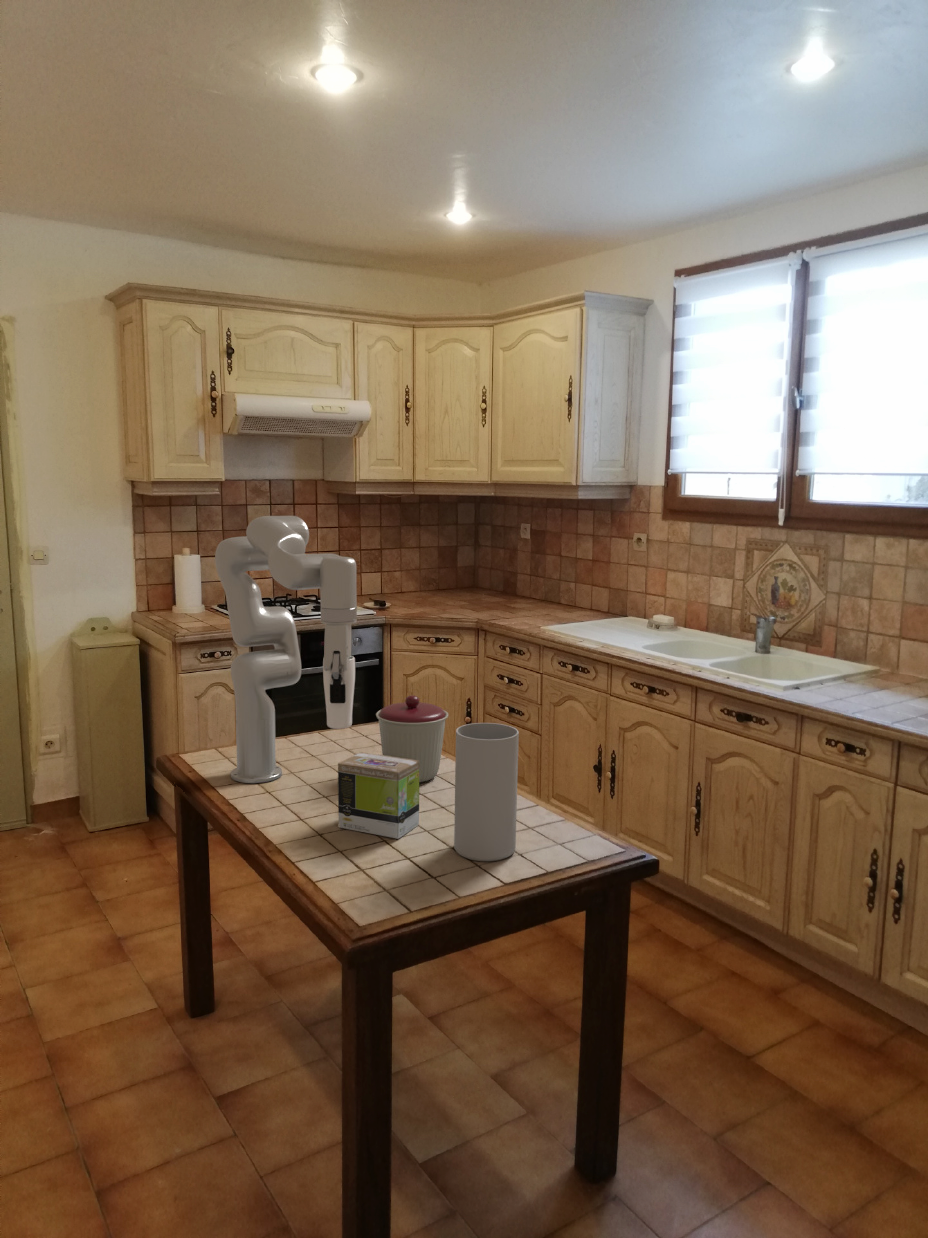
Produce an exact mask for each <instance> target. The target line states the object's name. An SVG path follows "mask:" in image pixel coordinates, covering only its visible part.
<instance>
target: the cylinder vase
mask: <svg viewBox="0 0 928 1238" xmlns="http://www.w3.org/2000/svg"><path fill="white" fill-rule="evenodd" d="M519 734H520V731H519V730H518V729H517V728H516V727H513V726H512V725H511V726H510V725H507V724H502V723H496V722H495V723H494V722H476V723H475V722H474V723H468V724H464V725H461V726H459V727H457V728H456V729H455V768H454V769H455V770H454V771H455V774H454V779H455V780H454V830H453V831H454V832H453V833H454V834H453V835H454V837H453V847H454V851H455V852H456V853H457V854H458V855H459V856H462V857H463V858H465V859H468V860H472V861H478V862H496V861H501V860H504V859H507V858H508V857H511V856H512V855H513V854H514V853H515V851H516V844H517V843H516V842H517V809H518V807H517V805H518V803H517V802H518V775H519V774H518V769H519V768H518V767H519V737H520V736H519Z"/></svg>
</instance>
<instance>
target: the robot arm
mask: <svg viewBox="0 0 928 1238" xmlns="http://www.w3.org/2000/svg"><path fill="white" fill-rule="evenodd" d="M245 534H246V535H245V536H235V537H230V538H229V537H228V538H226V539H223V540H222V541H220V542H219V543H218V545H217V547H216V549H215V556H214V562H215V569H216V572H217V575H218V578H219V581H220V583H221V585H222V588H223V590H224V593H225V597H226V605H227V613H228V619H229V626H230V633H231V636H232V639H233V642H234V644H236V645H237V646H239V647H244V648H247V647H249V648H250V647H260V646H271V645H272V646H274V649H268V650H258V651H257V650H256V651H249V652H244V653H242V654H239V655H237V656H236V657H235V658H234V659H233V660H232V662H231V665H230V677H231V681H232V686H233V692H234V700H235V701H234V702H235V703H234V704H235V732H236V733H235V734H236V735H235V736H236V737H235V739H236V767H235V768H233V769H232V770H231V771H230V778H231V779H232V780H233V781H235V782H239V783H243V784H244V783H245V784H261V783H268V782H272V781H276V780H277V779H279V778H280V777H281V776H282V775H283V769H282V767H280V766H279V765H277V763H276V762H277V761H276V760H277V759H276V756H277V755H276V752H277V751H276V709H275V704H274V702H273V700H272V699H271V698H270V697H269V695H268V694H267V692H266V690H271V689H274V688H283V687H288V686H294V685H295V684H296V683H298V682H299V681H300V679H301V676H302V659H301V654H300V647H299V639H298V634H297V627H296V622H295V619H294V617H293V614H292V613H291V611H289V610H288V608H286V607H283V606H264V604H263V600H262V599H263V597H262V592H261V587H260V586H259V585H258V583H257V582H256V581H255V579H253V578H252V576H251V575H249V573H247V572H248V571H249V572H252V571H253V572H254V571H255V572H256V571H259V572H260V571H269V573H270V575H271V578H273V580H274V581H276V582H277V583H278V584H280V585H281V586H282V587H284V588H286V589H288V590H292V591H302V590H315V589H316V590H317V589H319V590H320V623H321V624H323V625H325V626H324V641H323V642H324V643H323V644H324V645H323V646H324V648H323V649H324V650H323V651H324V652H323V653H324V655H323V658H324V670H325V671H328V670H327V669H330V666H331V679H330V703H345V701H346V692H345V684H344V672H345V671H346V670H347V669H348V663H349V659H351V656H352V625H353V624H356V623H357V622H358V619H357V618H358V616H357V615H358V613H357V612H358V610H357V609H358V608H357V607H358V604H357V603H358V602H357V599H358V598H357V596H358V594H357V592H358V591H357V562H356V560H355V559H354V558H353V557H349V556H341V555H338V554H336V553H329V552H328V553H306V547H307V545H308V543H309V540H310V531H309V527H308V525H307V523H306V522H305V521H304V520H303V519H302V518H301V517H299V516H297V515H264V516H263V515H262V516H258V517H256V518H254V519H252V520H251V521H250V522H249V524H248V525H247V527H246V532H245ZM339 666H342V669H339ZM339 673H341V674H339Z"/></svg>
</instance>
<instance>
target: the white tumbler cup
mask: <svg viewBox="0 0 928 1238" xmlns="http://www.w3.org/2000/svg"><path fill="white" fill-rule="evenodd" d="M339 669H342V666H339ZM327 670H328V671H325V670H324V657H323V660H322V674H323V675H322V676H323V678H322V680H323V689H324V700H325V701H324V702H325V709H326V711H325V712H326V725H327V727H328V728H330V729H334V730H342V729H347V728H350V727H351V726H352V724H353V709H354V708H353V706H354V695H355V683H356V658H355V657H354V655H351V659H349V663H348V669H347V670H346V671H345V672H344V684H345V692H346V701H345V703H330V679H331V666H330V669H327ZM339 674H341V673H339Z"/></svg>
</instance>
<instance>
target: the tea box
mask: <svg viewBox="0 0 928 1238" xmlns="http://www.w3.org/2000/svg"><path fill="white" fill-rule="evenodd" d="M337 785H338V786H337V795H338V796H337V799H338V800H337V801H338V802H337V804H338V807H337V811H338V812H337V813H338V827H339V828H340V829H344V830H345V829H346V830H351V831H356V832H361V833H362V832H363V833H366V834H372V835H377V836H381V837H386V838H390V839H391V838H392V839H397V840H398V839H400V838H402V837H403V836H405V835H406V834H408V833H409V832H411V831H412V830H413V829H415V828H416V827H417V826H419V824H420V782H419V761H418V760H412V759H405V758H398V757H391V756H384V755H383V754H376V753H368V752H363V751H361V752H359V753H356V754H355V755H352V756H351V757H348V758H346V759H344V760H342V761H340V762H338V763H337Z"/></svg>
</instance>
